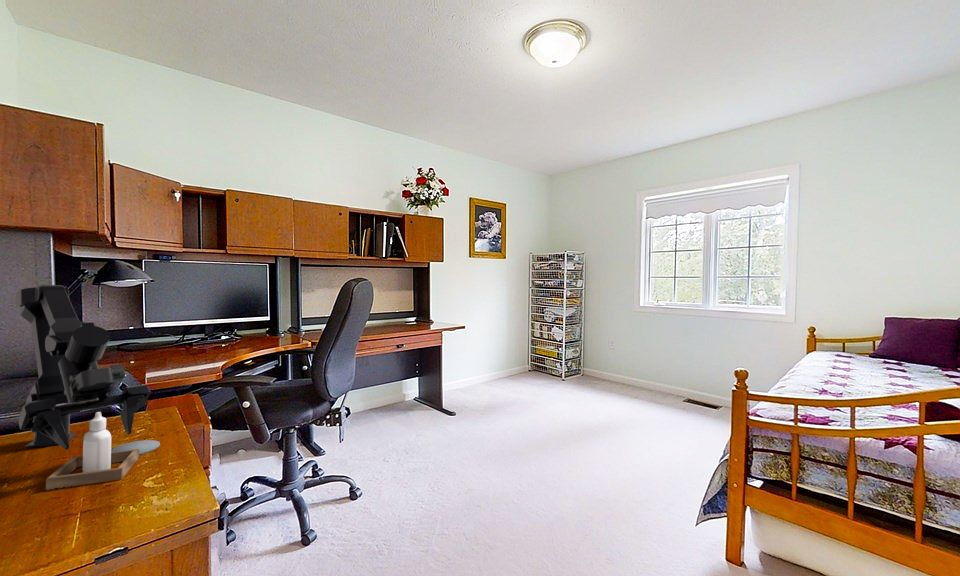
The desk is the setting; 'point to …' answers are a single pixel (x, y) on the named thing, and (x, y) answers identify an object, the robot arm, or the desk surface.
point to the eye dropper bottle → (97, 446)
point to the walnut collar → (67, 480)
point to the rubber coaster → (138, 446)
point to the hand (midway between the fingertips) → (100, 440)
